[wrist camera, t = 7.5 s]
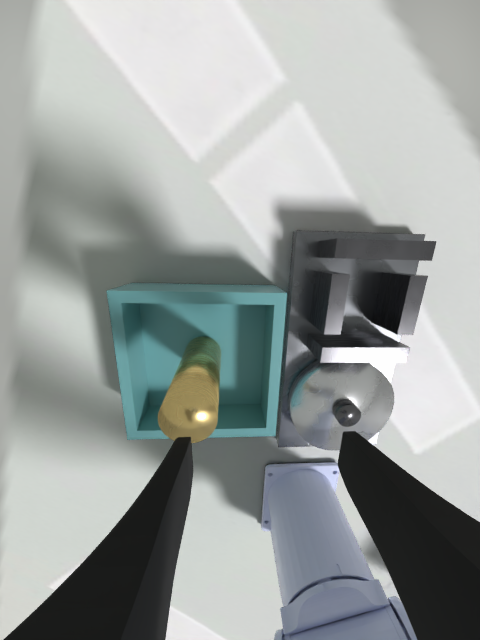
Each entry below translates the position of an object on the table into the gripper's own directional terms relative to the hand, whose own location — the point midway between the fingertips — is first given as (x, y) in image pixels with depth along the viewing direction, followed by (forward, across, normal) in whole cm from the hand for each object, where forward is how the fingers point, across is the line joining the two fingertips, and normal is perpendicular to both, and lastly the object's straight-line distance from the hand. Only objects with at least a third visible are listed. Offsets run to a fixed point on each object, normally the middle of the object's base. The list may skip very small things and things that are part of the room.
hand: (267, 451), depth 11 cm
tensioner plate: (+10, -8, -1) cm, 13 cm away
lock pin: (+9, +4, -1) cm, 10 cm away
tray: (+10, +4, -1) cm, 11 cm away
